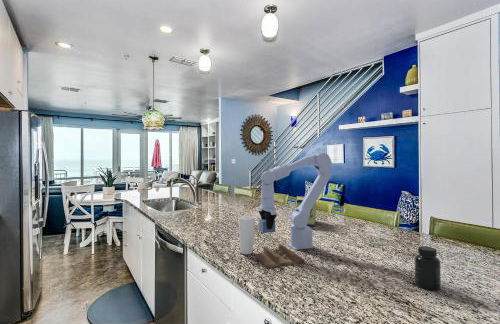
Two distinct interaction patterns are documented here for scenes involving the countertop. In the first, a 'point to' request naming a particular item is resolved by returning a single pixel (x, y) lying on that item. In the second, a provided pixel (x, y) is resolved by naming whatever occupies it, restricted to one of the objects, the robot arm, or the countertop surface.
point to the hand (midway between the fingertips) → (267, 227)
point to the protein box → (312, 213)
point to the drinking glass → (246, 234)
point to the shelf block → (265, 226)
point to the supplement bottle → (427, 269)
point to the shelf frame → (278, 257)
